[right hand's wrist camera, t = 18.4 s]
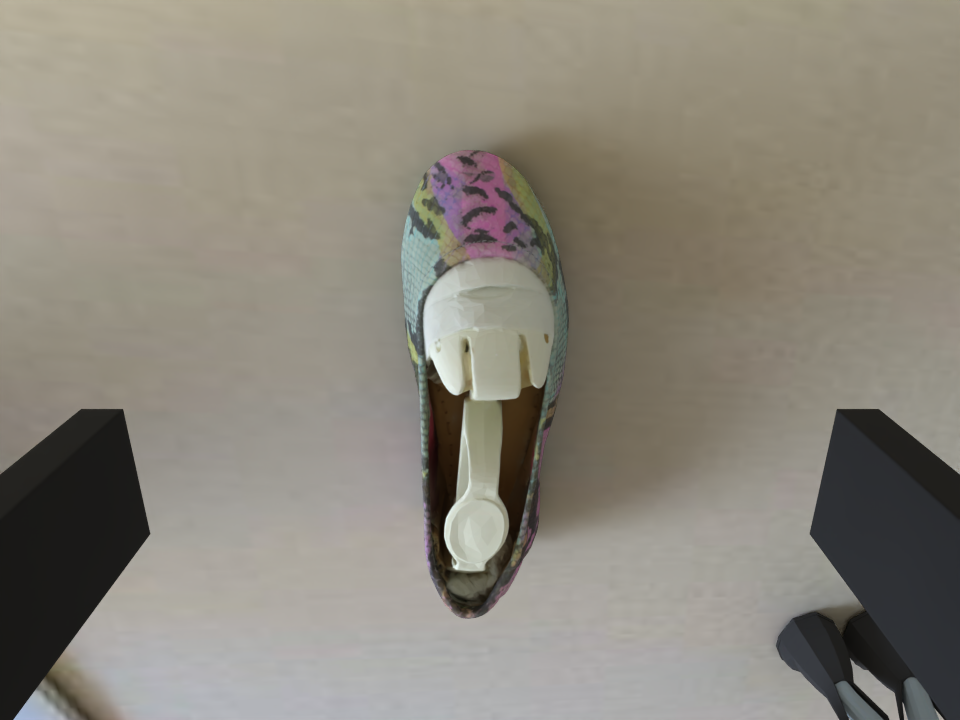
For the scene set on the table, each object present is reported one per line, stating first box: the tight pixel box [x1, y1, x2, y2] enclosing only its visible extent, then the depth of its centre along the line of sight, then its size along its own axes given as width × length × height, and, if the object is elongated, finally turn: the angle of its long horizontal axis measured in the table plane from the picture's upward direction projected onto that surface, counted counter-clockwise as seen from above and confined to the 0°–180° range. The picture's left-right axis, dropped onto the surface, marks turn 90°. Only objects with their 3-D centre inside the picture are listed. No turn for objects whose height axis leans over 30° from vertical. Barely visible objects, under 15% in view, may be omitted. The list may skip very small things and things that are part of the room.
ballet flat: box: [401, 150, 569, 619], centre depth 34 cm, size 8×24×9 cm, turn 179°
